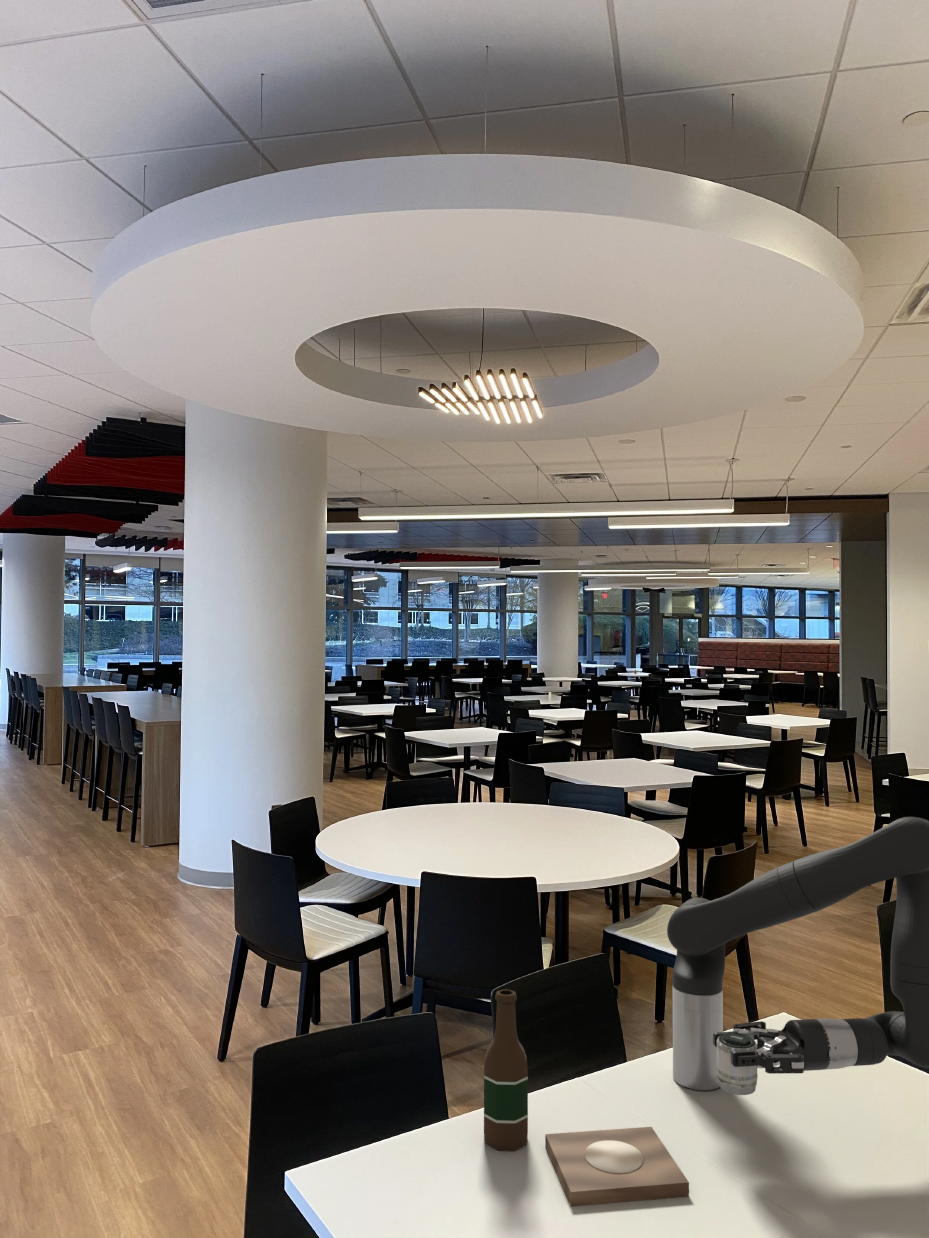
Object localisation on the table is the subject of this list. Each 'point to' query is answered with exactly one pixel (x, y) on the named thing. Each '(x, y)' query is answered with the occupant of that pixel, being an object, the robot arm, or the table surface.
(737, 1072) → the camera lens
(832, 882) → the robot arm
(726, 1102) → the table surface
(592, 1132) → the display stand
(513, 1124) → the beer bottle
